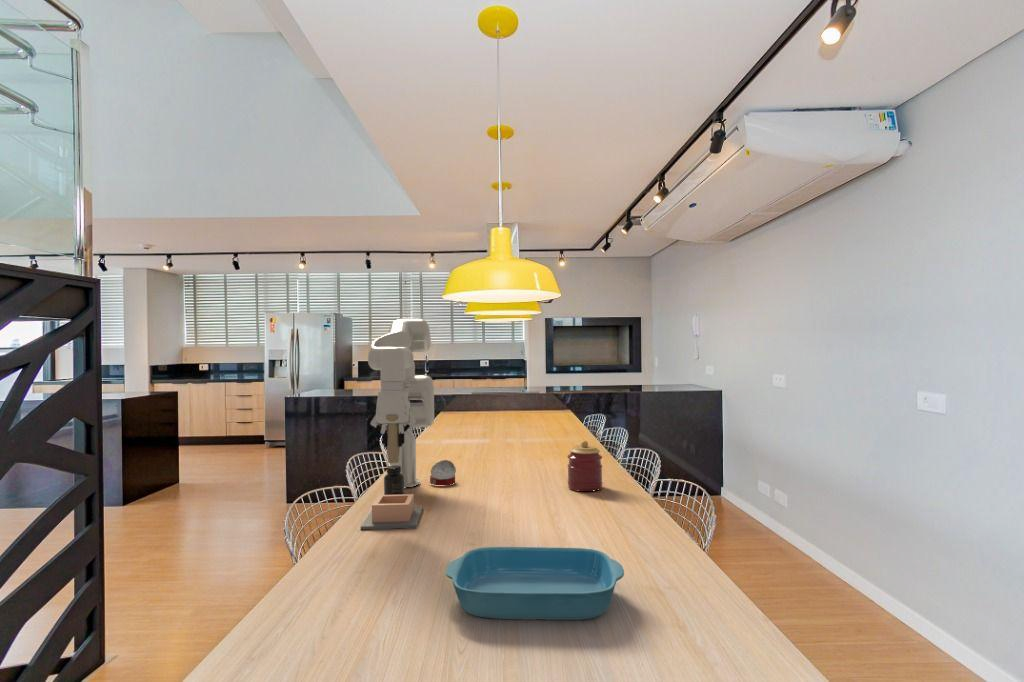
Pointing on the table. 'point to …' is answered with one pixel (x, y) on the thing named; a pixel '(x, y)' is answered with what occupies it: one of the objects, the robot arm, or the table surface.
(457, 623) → the table surface
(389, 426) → the handle
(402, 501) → the socket
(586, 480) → the canister
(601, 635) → the table surface
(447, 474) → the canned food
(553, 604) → the casserole dish
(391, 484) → the supplement bottle
